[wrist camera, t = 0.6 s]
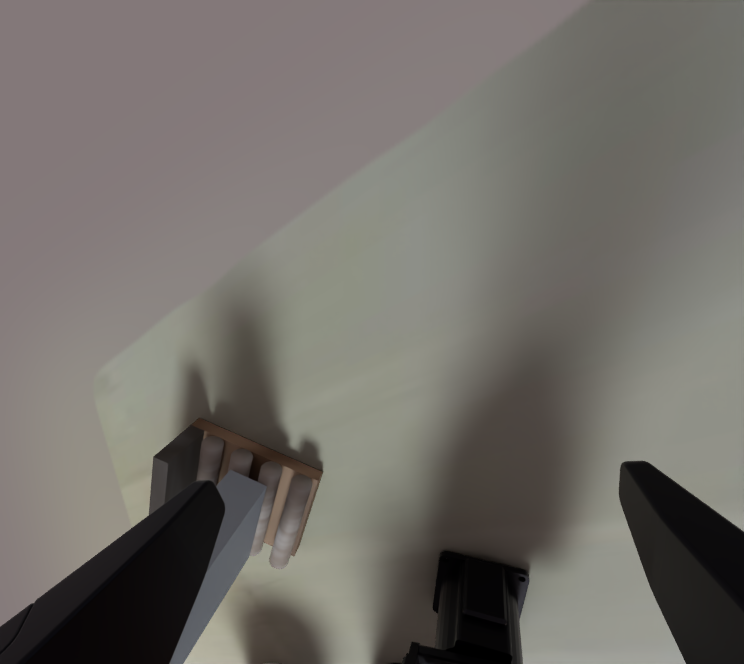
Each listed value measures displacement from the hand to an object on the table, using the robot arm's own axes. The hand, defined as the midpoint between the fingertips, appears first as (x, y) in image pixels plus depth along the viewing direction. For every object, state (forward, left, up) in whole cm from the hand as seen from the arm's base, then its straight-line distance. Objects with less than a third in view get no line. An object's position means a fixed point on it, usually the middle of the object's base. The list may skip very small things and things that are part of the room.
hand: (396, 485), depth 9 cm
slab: (-19, +14, -14) cm, 27 cm away
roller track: (-18, +15, -16) cm, 29 cm away
